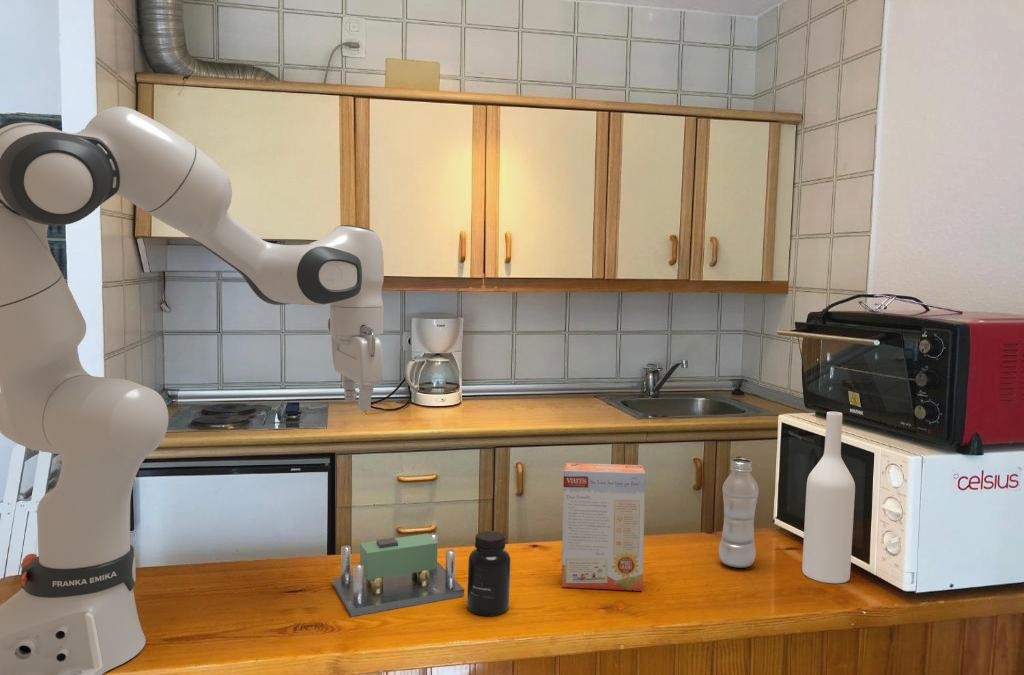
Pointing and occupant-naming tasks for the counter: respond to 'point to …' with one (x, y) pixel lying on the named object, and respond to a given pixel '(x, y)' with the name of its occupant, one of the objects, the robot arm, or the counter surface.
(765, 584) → the counter surface
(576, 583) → the cracker box
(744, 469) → the plastic bottle
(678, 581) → the counter surface
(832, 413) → the bottle
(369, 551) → the green rectangular block
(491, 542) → the supplement bottle
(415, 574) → the chassis
